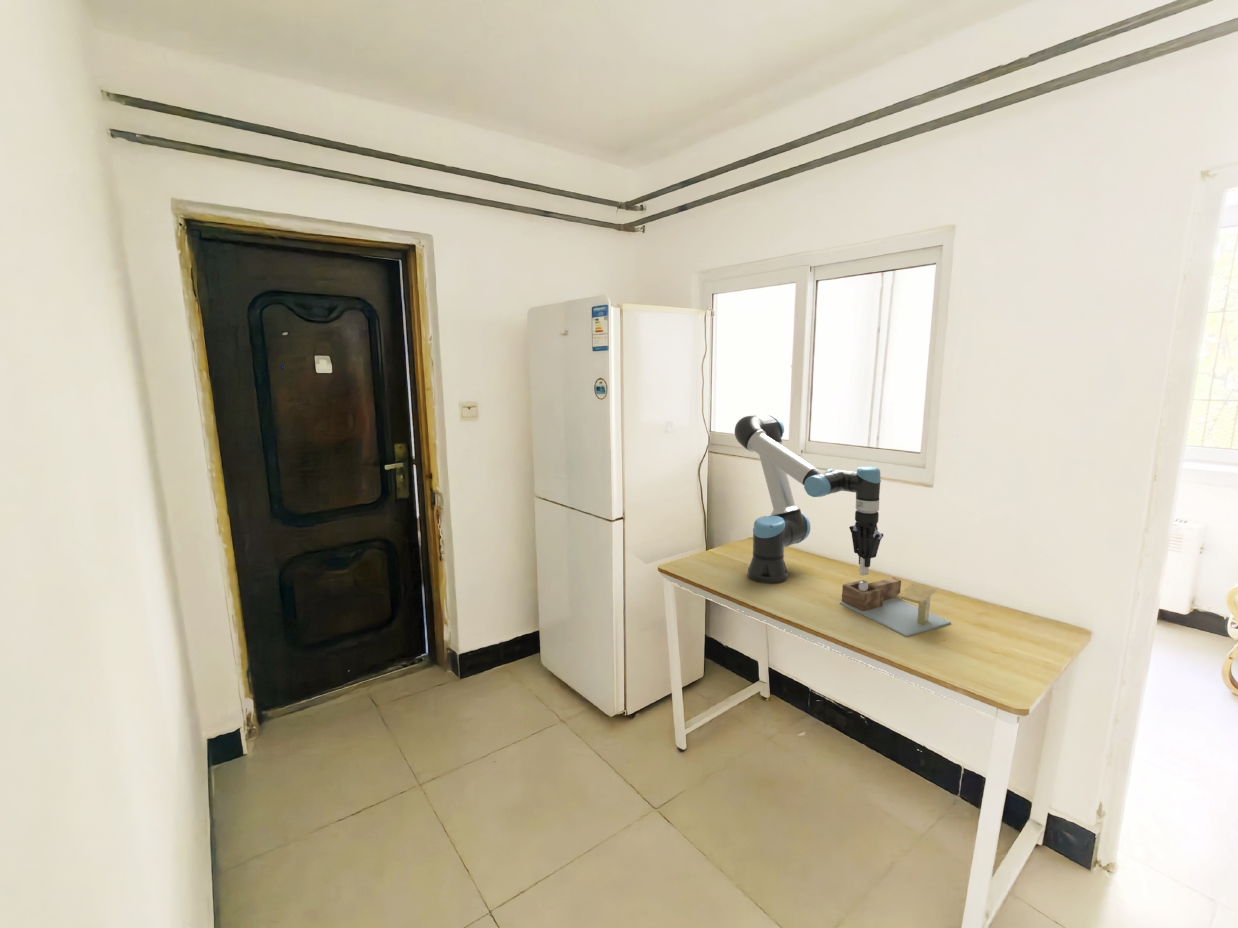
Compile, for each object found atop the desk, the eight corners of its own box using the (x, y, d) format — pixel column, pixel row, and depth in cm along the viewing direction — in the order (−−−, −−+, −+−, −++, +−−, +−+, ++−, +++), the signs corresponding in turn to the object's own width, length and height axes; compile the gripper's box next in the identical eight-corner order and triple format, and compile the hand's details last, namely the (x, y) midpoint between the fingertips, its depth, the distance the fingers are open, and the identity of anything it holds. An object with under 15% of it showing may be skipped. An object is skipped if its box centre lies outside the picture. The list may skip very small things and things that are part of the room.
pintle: (855, 604, 183) (856, 581, 181) (861, 602, 184) (863, 579, 182) (862, 607, 180) (863, 584, 178) (868, 606, 181) (870, 582, 180)
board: (839, 603, 184) (839, 601, 184) (881, 592, 192) (881, 591, 191) (906, 636, 160) (906, 634, 160) (950, 623, 168) (950, 621, 168)
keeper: (894, 624, 168) (897, 595, 166) (909, 611, 177) (911, 583, 175) (918, 631, 163) (921, 601, 161) (932, 618, 172) (935, 589, 170)
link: (862, 611, 176) (864, 594, 175) (841, 600, 184) (842, 584, 183) (907, 599, 184) (908, 583, 183) (885, 590, 192) (886, 574, 191)
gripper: (844, 508, 191) (841, 570, 195) (874, 516, 180) (871, 582, 183) (859, 505, 194) (857, 567, 198) (890, 513, 183) (886, 578, 186)
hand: (863, 574), depth 191 cm, fingers closed
